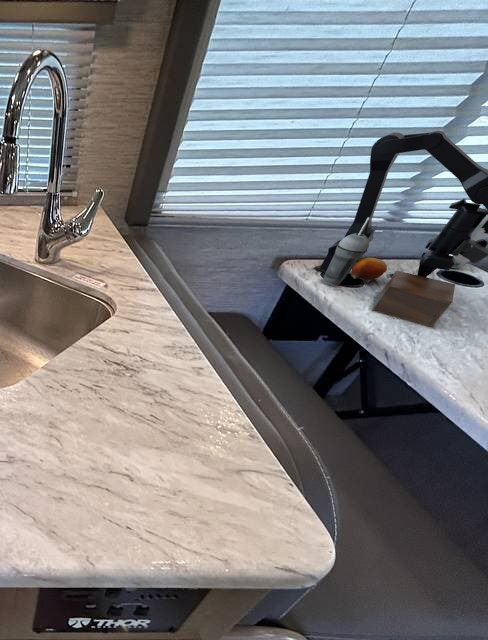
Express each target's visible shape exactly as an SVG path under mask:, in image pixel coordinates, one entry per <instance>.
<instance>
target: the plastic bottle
mask: <svg viewBox="0 0 488 640" xmlns="http://www.w3.org/2000/svg"><path fill="white" fill-rule="evenodd" d="M484 209H486V208H485V207H484ZM487 219H488V215H486V217H485V218H484V219H483V220H482V222H481V223H480V224H479V225H478V227H477V228H476V229H475V230H474V232H473V233H472V235H471V240H475V241H477V240H481V239H484V240H486V238H487V237H488V234H486V233H484V228H481V227H482V225H483V224H484V223H485V221H486V220H487ZM449 255H450V256H453V255H451V254H449ZM453 257H454V259H455V263H454V265H453V266H452V268H453V269H460V268H463V267H465V266H466V265H467V264H469V263H470V260H469V259H467V258H465V257H463V256H462V255H460V254H459V255H458V256H453ZM452 268H451V269H452Z"/></svg>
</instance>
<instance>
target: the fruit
mask: <svg viewBox="0 0 488 640" xmlns="http://www.w3.org/2000/svg"><path fill="white" fill-rule="evenodd" d="M387 270H388V265H387V263H386V262H385V261H384V260H382V259H379V258H375V257H369V256H368V257H363V258H360V259H359V260H358V261H357V263H356V264H355V265H354V267H353V268H352V269H351V271H350V276H351V277H352V278H353V280H357V279H358V280H363V281H365V282H366V283H367V284H369V282H372V281H375V280H377V279H379V278H380V277H382V276H383V275H384V274H385V273H386V272H387Z"/></svg>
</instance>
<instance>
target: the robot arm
mask: <svg viewBox="0 0 488 640" xmlns="http://www.w3.org/2000/svg"><path fill="white" fill-rule="evenodd" d="M370 149H371V150H370V158H369V174H368V177H367V180H366V183H365V185H364V188H363V193H362V194H361V198H360V201H359V204H358V207H357V210H356V213H355V216H354V219H353V221H352V223H351V225H350V226H349V228H348V229H347V232H346V233H345V234H344V237H343V238H345V237H346V236H348V235H351V234H355V233H359V232H360V230H361V229H362V227H363V225H364V223H365V222H366V220H367V218H370V219H369V220H368V222H367V224H366V226H365V227H364V229H363V231H362V233H361V234H363V235H365V236H366V237H367V238H368V239H369V244H370V243H371V242H372V241H373V240H374V233H375V232H376V230H377V228H378V225H373V223H372V221H373V217H374V214H375V211H376V209H377V205H378V202H379V200H380V197H381V194H382V191H383V189H384V186H385V183H386V180H387V177H388V174H389V171H390V169H391V168H392V166H393V165H394V163H395V162H396V160H397V158H398V156H400V154H403V153H411V152H417V151H426V152H428V154H430V155H431V156H432V157H433V158H434V159H435V160H436V161H437V162H438V163H440V165H442V166H443V167H444V168H445V169H446V170H448V171H449V173H451V174H452V175H453V176H454V177H455V178H456V179H457V180H458V181H459V183H460V184H461V186H462V188H463V190H464V192H465V194H466V195H467V197H468V199H469V200H470V201H471V202H467V199H466V198H461V199H460V200H457V201H454V202H451V203H450V205H449V206H448V208H449V209H452V210H455V212H454V213H453V215H452V216H451V217H450V219H449V220H448V221H447V222H446V224H445V225H444V226H443V227H442V228H441V229H440V231H439V233H438V235H437V236H436V237H434V238H431V239H429V241H428V242H427V244H426V245H425V247H424V249H428V250H427V251H428V252H424V251H423V252H422V255H421V257H420V260H419V262H418V270H417V274H416V275H419V276H423V277H427V278H428V277H429V276H430V275H431V274H432V273H433V272H435V271H436V270H437V269H439V270H443V271H450V270H451V269H452V266H453V265H454V263H455V259H454V257H453V256H458V255H459V254H460V255H462V256H463V257H465V258H467V259H469V263H472V264H476V265H477V264H478V263H479V262H481V261H482V260H484V259H485V258H487V257H488V247H487V246H488V240H486V239H481V240H477V241H475V240H471V235H472V233H473V232H474V230H475V229H476V228H477V227H478V225H479V224H480V223H481V222H482V220H483V219H484V218H485V217H486V215H488V168H485V167H484V166H481V165H479V163H477V162H476V161H475V160H474V159H472V158H471V156H469V155H468V154H467V153H466V152H465V151H464V150H462V148H460V147H459V146H458V145H457V144H456V143H455V142H454V141H452V139H450V138H449V137H447V135H446V134H445V132H444V131H442V130H434V131H432V132H431V131H430V132H420V133H411V134H403V133H401V132H390V133H388V134H386V135H384V136H382V137H380V138H379V139H377V140H376V141H375V142H374V143H373V145H372V146H371V148H370ZM481 205H482V206H483V207H484V208H482V207H481ZM485 208H486V209H485ZM481 228H484V233H486V234H488V219H487V220H486V221H485V223H484V224H483V225H482V227H481ZM343 238H341V239H339V240H337V241H335V242H334V243H333V244H332V245H330V247H329V248H328V250H327V254H326V256H325V258H324V259H323V261H322V263H321V264H320V265H316V266H314V267H313V269H314V270H317V271H319V272H321V273H324V274H325V273H326V271H327V269H328V267H329V265H330V263H331V261H332V258H333V256H334V254H335V251H336V248H337V245H338V244H339V243H340V241H341V240H342V239H343ZM449 254H451V255H453V256H450V255H449Z"/></svg>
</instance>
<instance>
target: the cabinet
mask: <svg viewBox="0 0 488 640" xmlns="http://www.w3.org/2000/svg"><path fill="white" fill-rule="evenodd" d="M455 289H456V283H453V282H449V281H443V280H439V279H435V278H432V277H428V276H427V277H423V276H419V275H417V274H414V273H409V272H405V271H401V270H395V272H394V273H393V274H392V275H391V278H390V279H389V280H388V281H387V283H386V284H385V286H384V287H383V288H382V289H381V291H380V293H379V295H378V297H377V299H376V301H375V304H374V306H373V308H372V311H374V312H377V313H380V314H384V315H388V316H390V317H394V318H398V319H401V320H405V321H409V322H413V323H415V324H420V325H423V326H427V327H429V328H431V327H433V325H434V324H435V323H436V322H437V321H438V319H440V317H441V316H442V315H443V314H444V313H445V311H447V309H448V308H449V307H450V306H451V305H452V304H453V302H454V294H455Z"/></svg>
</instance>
